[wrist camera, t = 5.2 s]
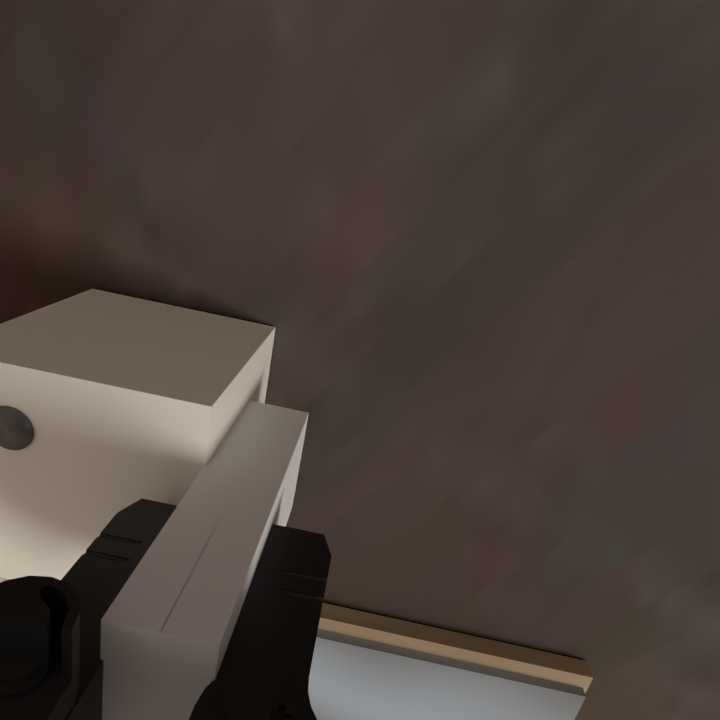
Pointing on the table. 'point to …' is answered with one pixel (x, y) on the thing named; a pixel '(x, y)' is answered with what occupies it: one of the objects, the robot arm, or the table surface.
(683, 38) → the table surface
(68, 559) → the die
